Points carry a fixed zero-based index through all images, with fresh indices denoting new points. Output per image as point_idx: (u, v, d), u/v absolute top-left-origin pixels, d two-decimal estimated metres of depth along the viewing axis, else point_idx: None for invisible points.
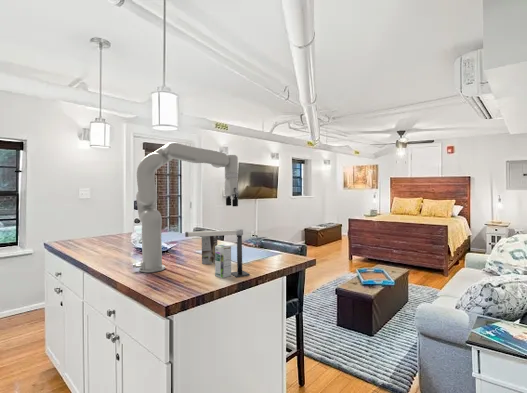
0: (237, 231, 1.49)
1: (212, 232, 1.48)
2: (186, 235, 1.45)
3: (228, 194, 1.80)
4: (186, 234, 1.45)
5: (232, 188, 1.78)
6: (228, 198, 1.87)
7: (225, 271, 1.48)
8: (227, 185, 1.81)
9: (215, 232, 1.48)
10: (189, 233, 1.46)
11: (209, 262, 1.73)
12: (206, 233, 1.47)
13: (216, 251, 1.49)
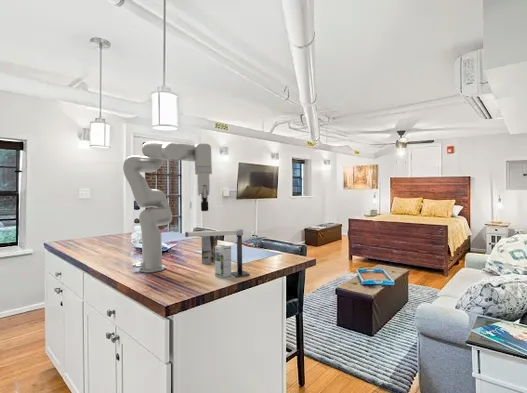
0: (237, 231, 1.49)
1: (212, 232, 1.48)
2: (186, 235, 1.45)
3: None
4: (186, 234, 1.45)
5: (201, 186, 1.40)
6: None
7: (225, 271, 1.48)
8: None
9: (215, 232, 1.48)
10: (189, 233, 1.46)
11: (209, 262, 1.73)
12: (206, 233, 1.47)
13: (216, 251, 1.49)
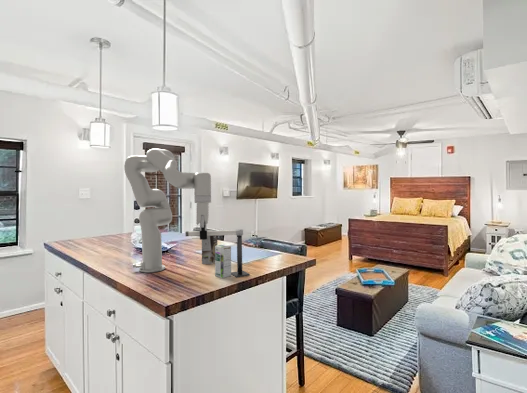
0: (237, 231, 1.49)
1: (212, 232, 1.49)
2: (186, 234, 1.47)
3: None
4: (186, 233, 1.47)
5: (198, 215, 1.40)
6: None
7: (225, 271, 1.48)
8: None
9: (215, 232, 1.49)
10: (189, 232, 1.48)
11: (209, 262, 1.73)
12: None
13: (216, 251, 1.49)
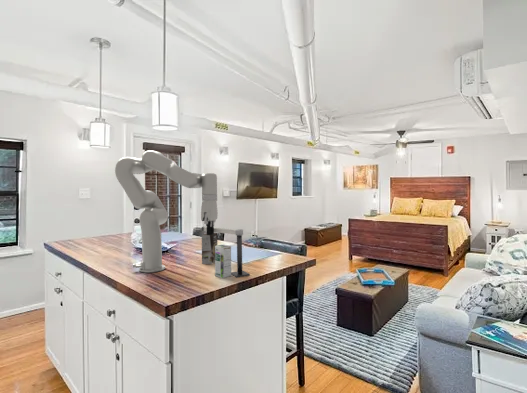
0: (235, 231, 1.50)
1: (219, 229, 1.58)
2: (202, 229, 1.65)
3: None
4: (202, 228, 1.65)
5: (202, 212, 1.54)
6: None
7: (225, 271, 1.48)
8: None
9: (220, 229, 1.57)
10: (204, 228, 1.64)
11: (209, 262, 1.73)
12: (215, 229, 1.59)
13: (216, 251, 1.49)
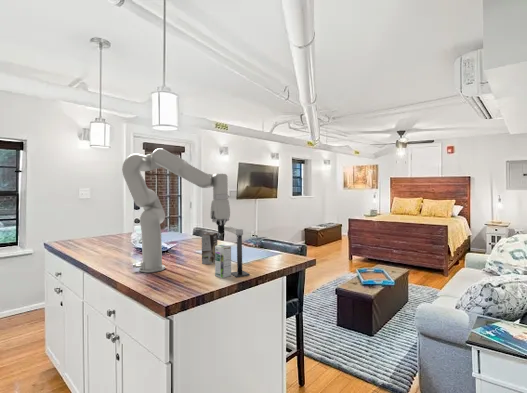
0: None
1: (228, 228, 1.62)
2: None
3: None
4: None
5: (211, 211, 1.61)
6: None
7: (225, 271, 1.48)
8: None
9: (228, 228, 1.61)
10: None
11: (209, 262, 1.73)
12: (226, 228, 1.64)
13: (216, 251, 1.49)
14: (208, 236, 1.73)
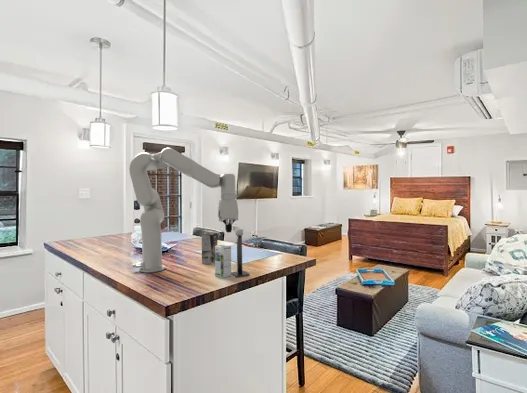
0: None
1: None
2: None
3: None
4: None
5: (218, 210, 1.65)
6: (229, 222, 1.67)
7: (225, 271, 1.48)
8: None
9: (234, 228, 1.62)
10: None
11: (209, 262, 1.73)
12: (233, 227, 1.66)
13: (216, 251, 1.49)
14: (208, 236, 1.73)
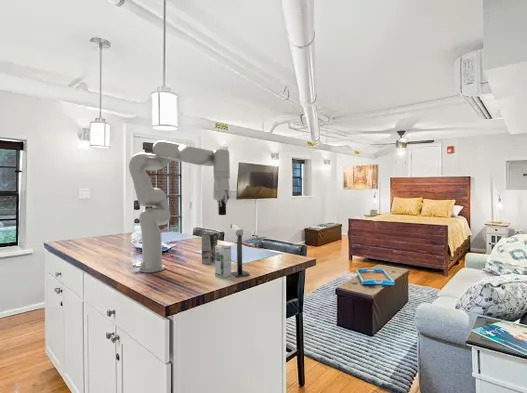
0: None
1: None
2: None
3: (217, 198, 1.46)
4: None
5: (222, 190, 1.44)
6: None
7: (225, 271, 1.48)
8: (216, 187, 1.47)
9: (234, 228, 1.62)
10: (231, 225, 1.73)
11: (209, 262, 1.73)
12: (233, 227, 1.66)
13: (216, 251, 1.49)
14: (208, 236, 1.73)
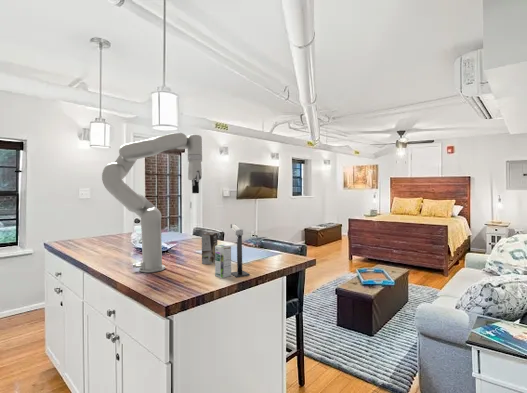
0: None
1: None
2: None
3: (191, 178, 1.65)
4: None
5: (195, 171, 1.62)
6: None
7: (225, 271, 1.48)
8: (190, 168, 1.66)
9: (234, 228, 1.62)
10: (231, 225, 1.73)
11: (209, 262, 1.73)
12: (233, 227, 1.66)
13: (216, 251, 1.49)
14: (208, 236, 1.73)
